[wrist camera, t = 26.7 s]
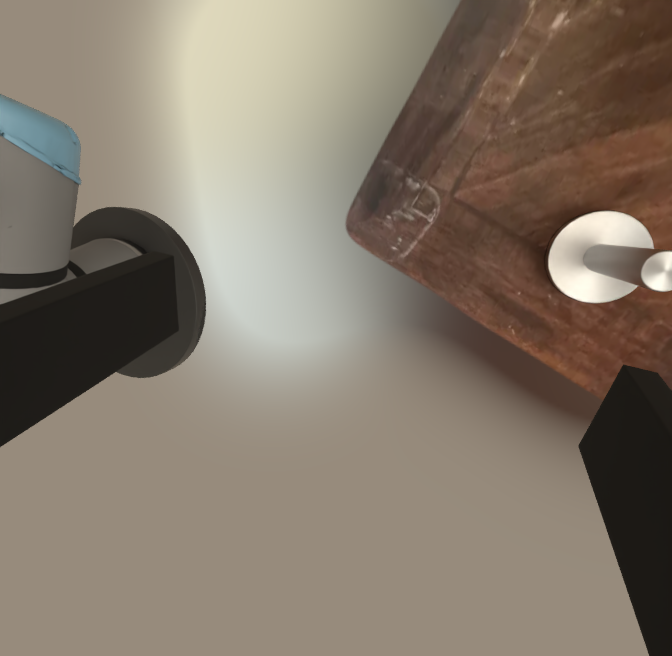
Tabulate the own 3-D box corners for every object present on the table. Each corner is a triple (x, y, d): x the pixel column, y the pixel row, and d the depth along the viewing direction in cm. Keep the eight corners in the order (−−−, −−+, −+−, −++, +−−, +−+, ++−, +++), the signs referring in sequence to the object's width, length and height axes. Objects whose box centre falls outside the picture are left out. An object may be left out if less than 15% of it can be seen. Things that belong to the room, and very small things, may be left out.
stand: (529, 284, 38) (562, 310, 25) (569, 199, 35) (627, 181, 22) (618, 313, 36) (702, 358, 23) (666, 226, 34) (789, 223, 21)
